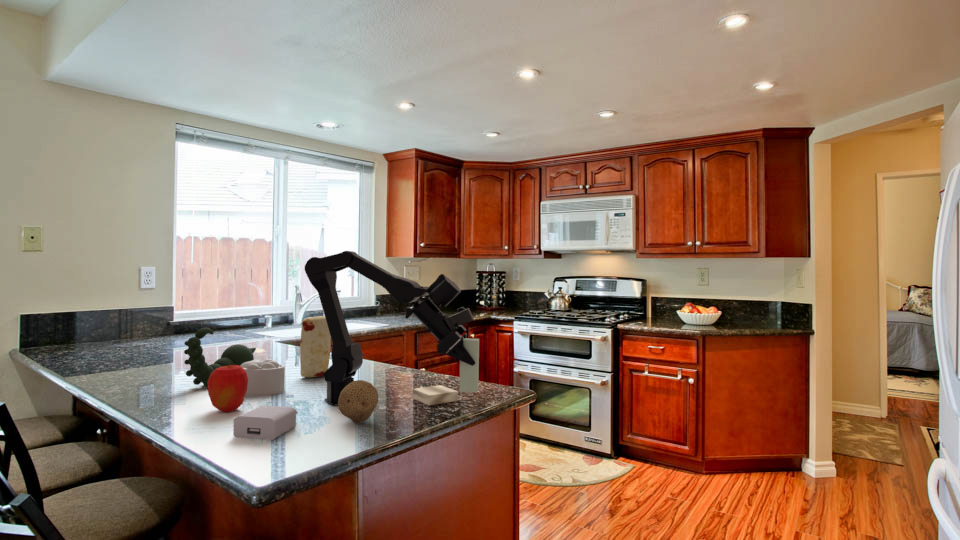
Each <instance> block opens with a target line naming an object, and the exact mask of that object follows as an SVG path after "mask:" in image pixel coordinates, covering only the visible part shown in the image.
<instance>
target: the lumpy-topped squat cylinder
mask: <svg viewBox="0 0 960 540" xmlns="http://www.w3.org/2000/svg"><path fill="white" fill-rule="evenodd" d="M240 366H241V367H242V368H243V369H244V370H245V371H246V373H247V376H248V386H247V392H246V395H245V396H271V395H278V394H282V393H284V392H285V378H286V377H285V372H286V371H285V369H286V367H285V365H284V364H280V363H279V362H278V361H276V360H273V359H271V358H267V359H265V360H264V361H261V360H259V359H254V360H252V361H250V362H245V363H243V364H241V365H240Z"/></svg>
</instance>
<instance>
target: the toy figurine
mask: <svg viewBox="0 0 960 540" xmlns="http://www.w3.org/2000/svg"><path fill="white" fill-rule="evenodd" d="M207 334H210V335H214V331H213V329H211V328H209V327H202V328H200V329H198V330H196V332H195V333H194V336H192V337H189V339H188V340H186V341H184V343H183V344H184V345H185V346H187V347H188V348H187V349H184V351H183V353H184V355H188V359H185V360H184V362H183V363H184V364H185V365H189V367H190V369H189V370H187V371H186V372H185V375H186V376H187V377H192V376H193V377H195V378H193V380H192V381H193V382H192V383H193V384H194V385H198V386H199V385H200V384H203V386H205V387H208V385H207V382H208V379H209V377H210V374H211V373H212V372H213V371H214V370H215V369H216V368H219V367H223V366H228V365H239V366H240V365H241V364H243V363H245V362H250V361H252V360H255V357H254V352H255V351H256V349H257V348H256V347H250V348H249V347H248V346H246V345H244V344H232V345H230V346H228V347H226V349H224V350H223V352H222V353H221V355H220V358H218V359H217V360H215V361H214V363H211V364H208V362H206V357H205V355H204V349H203V347H202V346H201V345H202V341H201V340H202V339H203V338H205V337H206V335H207ZM229 363H230V364H229Z"/></svg>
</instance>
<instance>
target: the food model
mask: <svg viewBox="0 0 960 540" xmlns="http://www.w3.org/2000/svg"><path fill="white" fill-rule="evenodd" d="M331 343H332V339H331V336H330V332H329V329H328V325H327V322H326V318H325V315H317V316H309V317H307V318H303V319H302V322H301V331H300V348H299V349H300V354H299V356H300V357H299V360H300V361H299V362H300V376H301V377H302V378H319V377H324V375H323V373H324V372H325V371H326V370H327V369H328V368H329V365H330V358H331V348H332V346H331Z"/></svg>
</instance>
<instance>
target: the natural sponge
mask: <svg viewBox="0 0 960 540" xmlns="http://www.w3.org/2000/svg"><path fill="white" fill-rule="evenodd" d="M378 403H379V392H378V389H377V388H376V387H375V386H374V385H373V384H372V383H371V382H369V381H366V380H363V379H362V380H360V379H358V380H357V379H356V380H354V381H353V382H351V383H350V384H348V385H347V386H346V387H345V388H344V389H343V390H342V391H341V393H340V396H339V399H338V405H337V406H338V411H339V413H340V414H341V415H342V416H344V417H345V418H348V419H350V420H351V422H353V423H354V424H357V425H359V424H363V423H365V422H366V421H368V419H370V417H371V416H372V415H373V414H374V411H375V409H376V408H377V405H378Z"/></svg>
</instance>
